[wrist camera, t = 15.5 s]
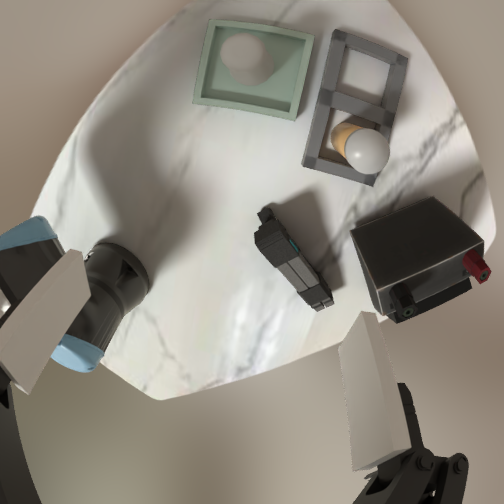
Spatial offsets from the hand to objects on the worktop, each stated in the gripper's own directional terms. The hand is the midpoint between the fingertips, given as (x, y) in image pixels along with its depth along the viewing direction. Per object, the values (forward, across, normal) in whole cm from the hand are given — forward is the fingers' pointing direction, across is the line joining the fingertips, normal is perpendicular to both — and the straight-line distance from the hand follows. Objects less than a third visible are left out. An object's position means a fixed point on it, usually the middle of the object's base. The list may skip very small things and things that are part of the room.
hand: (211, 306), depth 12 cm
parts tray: (+31, -3, +13) cm, 33 cm away
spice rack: (+31, +12, +11) cm, 35 cm away
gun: (+31, +10, -15) cm, 36 cm away
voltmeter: (+31, +28, -9) cm, 43 cm away
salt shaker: (+30, -3, +13) cm, 33 cm away
